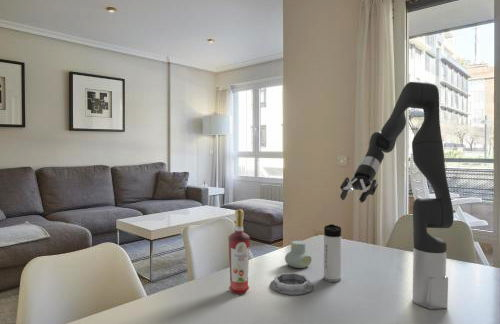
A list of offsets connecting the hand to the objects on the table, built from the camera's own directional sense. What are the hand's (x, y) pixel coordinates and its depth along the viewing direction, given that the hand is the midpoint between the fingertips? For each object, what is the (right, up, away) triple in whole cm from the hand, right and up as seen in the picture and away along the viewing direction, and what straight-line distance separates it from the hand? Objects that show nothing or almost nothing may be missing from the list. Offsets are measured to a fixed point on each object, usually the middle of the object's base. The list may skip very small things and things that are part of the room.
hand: (351, 200), depth 135 cm
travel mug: (-9, -29, -6) cm, 31 cm away
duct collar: (-25, -29, -13) cm, 41 cm away
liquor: (-44, -30, -18) cm, 56 cm away
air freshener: (-20, -29, +8) cm, 36 cm away
